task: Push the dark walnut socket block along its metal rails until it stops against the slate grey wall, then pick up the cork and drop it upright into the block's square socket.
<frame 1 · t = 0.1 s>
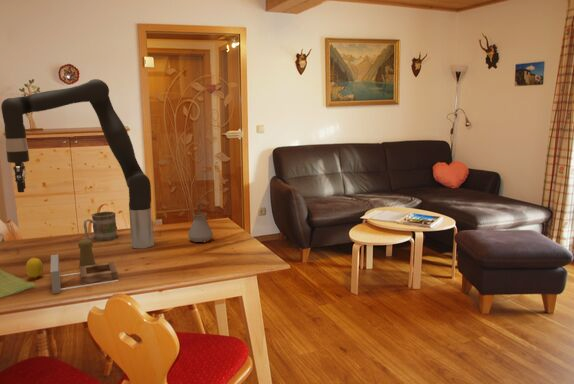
hand: (21, 190, 188), 29 cm above the table, fingers open, 8 cm apart
backstop: (87, 279, 172), on the table
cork: (87, 267, 186), on the table
mug: (101, 240, 223), on the table
lemon: (35, 278, 174), on the table
coffee pot: (200, 238, 225), on the table
socket block: (98, 273, 174), point 2 cm above the table, slide at 0.0 cm
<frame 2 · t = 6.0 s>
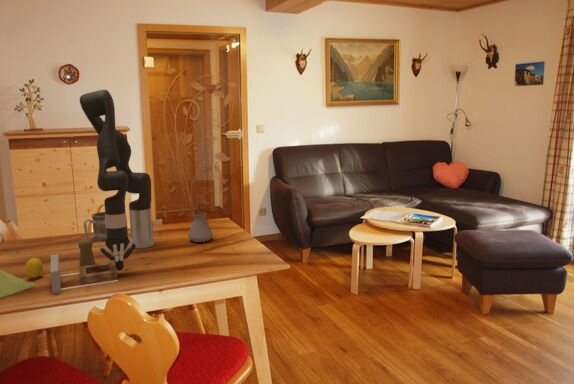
hand: (119, 269, 177), 2 cm above the table, fingers closed
socket block: (98, 273, 174), point 2 cm above the table, slide at 0.1 cm, touching gripper
everything else where it was.
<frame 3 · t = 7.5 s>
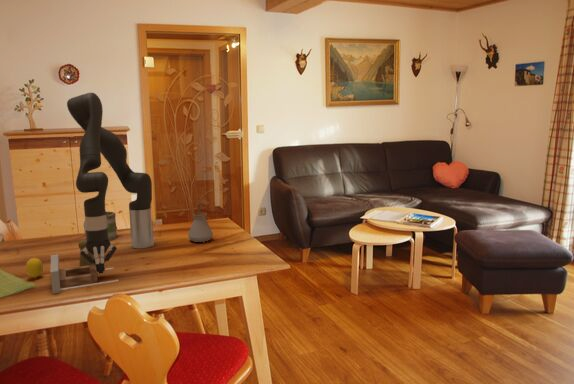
hand: (100, 272, 174), 2 cm above the table, fingers closed
socket block: (78, 276, 171), point 2 cm above the table, slide at 6.8 cm, touching backstop, gripper
everything else where it was.
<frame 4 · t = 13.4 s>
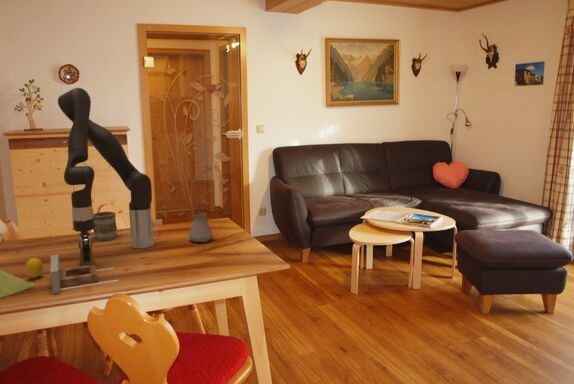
hand: (86, 259, 185), 3 cm above the table, fingers closed on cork, 4 cm apart
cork: (87, 267, 186), on the table, touching gripper
socket block: (78, 276, 171), point 2 cm above the table, slide at 6.8 cm
everything else where it was.
when the fingers open (5 cm above the table, at t = 18.0 s): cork drops 1 cm, resting on socket block.
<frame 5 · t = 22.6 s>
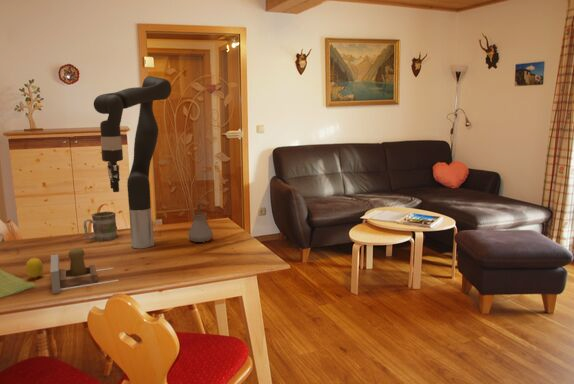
hand: (114, 190, 183), 30 cm above the table, fingers open, 8 cm apart
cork: (78, 278, 171), point 1 cm above the table, touching socket block
socket block: (78, 276, 171), point 2 cm above the table, slide at 6.7 cm, touching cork
everything else where it was.
at the end: socket block slide at 6.7 cm; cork 0.1 cm from the target spot, point 0.7 cm above the table; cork tilted 0° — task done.
